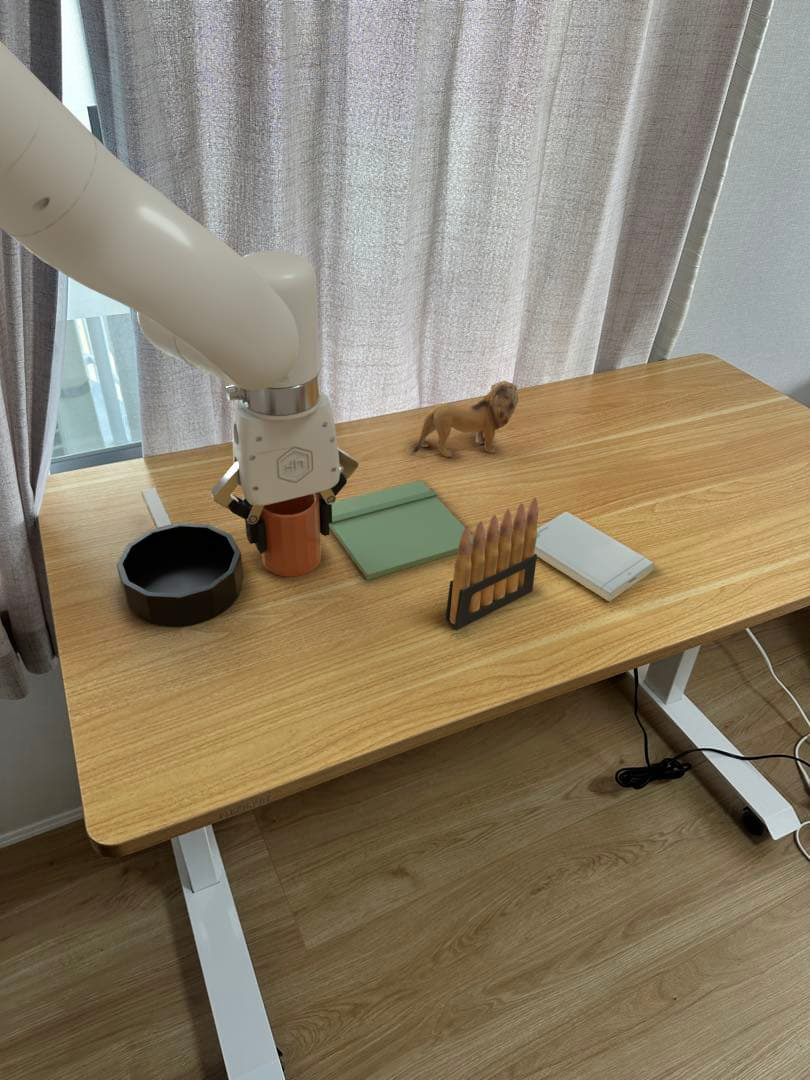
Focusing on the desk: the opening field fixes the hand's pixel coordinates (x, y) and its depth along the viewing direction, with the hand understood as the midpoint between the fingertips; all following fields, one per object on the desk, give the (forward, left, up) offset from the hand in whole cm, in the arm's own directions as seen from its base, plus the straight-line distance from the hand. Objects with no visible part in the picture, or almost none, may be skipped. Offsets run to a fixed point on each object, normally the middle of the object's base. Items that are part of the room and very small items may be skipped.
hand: (290, 535), depth 88 cm
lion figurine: (+30, +13, -3) cm, 33 cm away
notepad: (+13, 0, -3) cm, 13 cm away
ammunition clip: (+16, -16, -3) cm, 23 cm away
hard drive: (+30, -14, -3) cm, 33 cm away
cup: (0, 0, -3) cm, 3 cm away
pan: (-12, +4, -3) cm, 13 cm away
